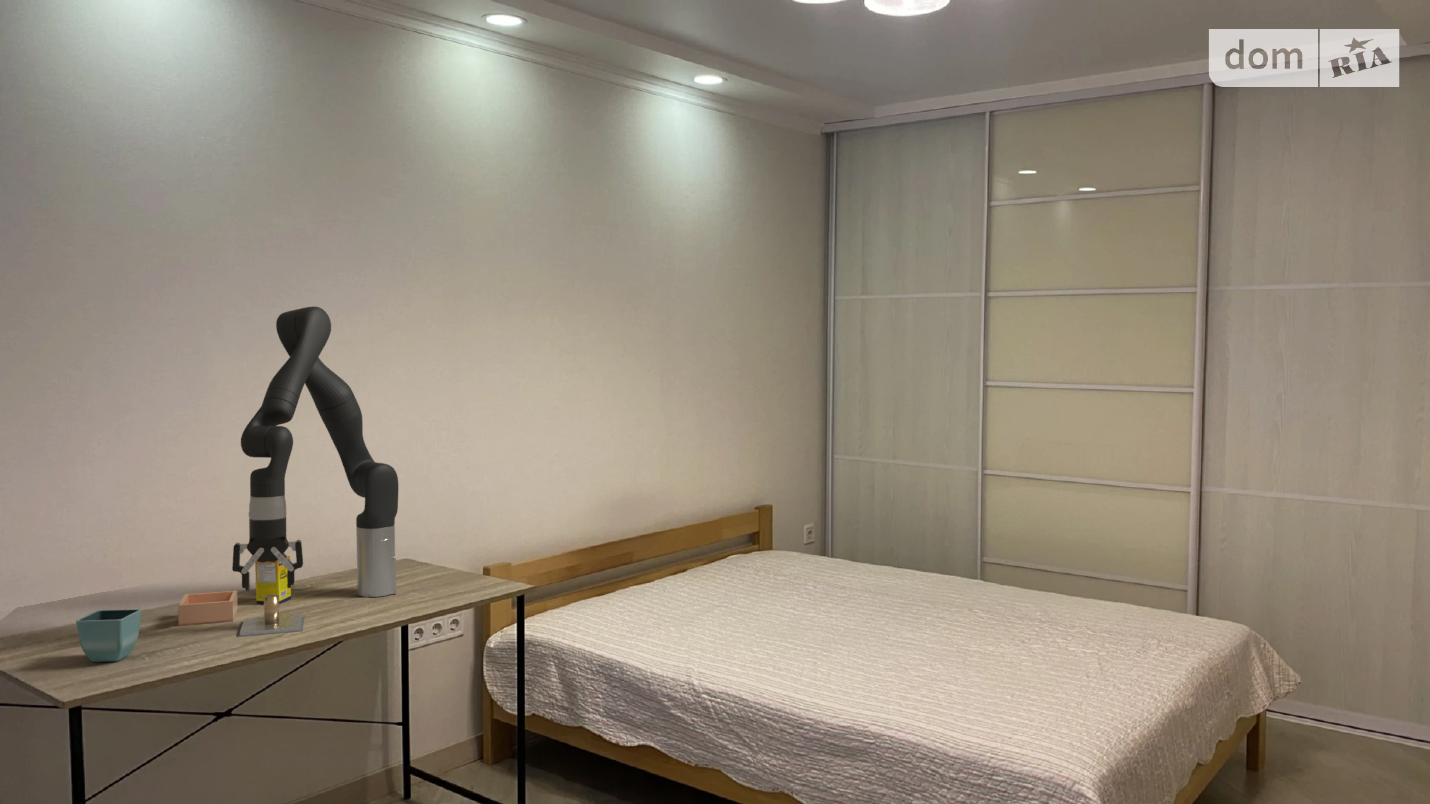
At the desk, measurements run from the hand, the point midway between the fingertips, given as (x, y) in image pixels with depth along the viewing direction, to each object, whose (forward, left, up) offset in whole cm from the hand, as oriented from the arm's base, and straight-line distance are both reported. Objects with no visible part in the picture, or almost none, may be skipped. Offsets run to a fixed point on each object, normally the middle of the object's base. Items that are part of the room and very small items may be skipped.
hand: (268, 588), depth 228 cm
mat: (-1, 0, -9) cm, 9 cm away
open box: (+13, -13, -9) cm, 21 cm away
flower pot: (+28, +13, -9) cm, 33 cm away
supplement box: (0, -26, -9) cm, 27 cm away
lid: (-1, 0, -9) cm, 9 cm away
